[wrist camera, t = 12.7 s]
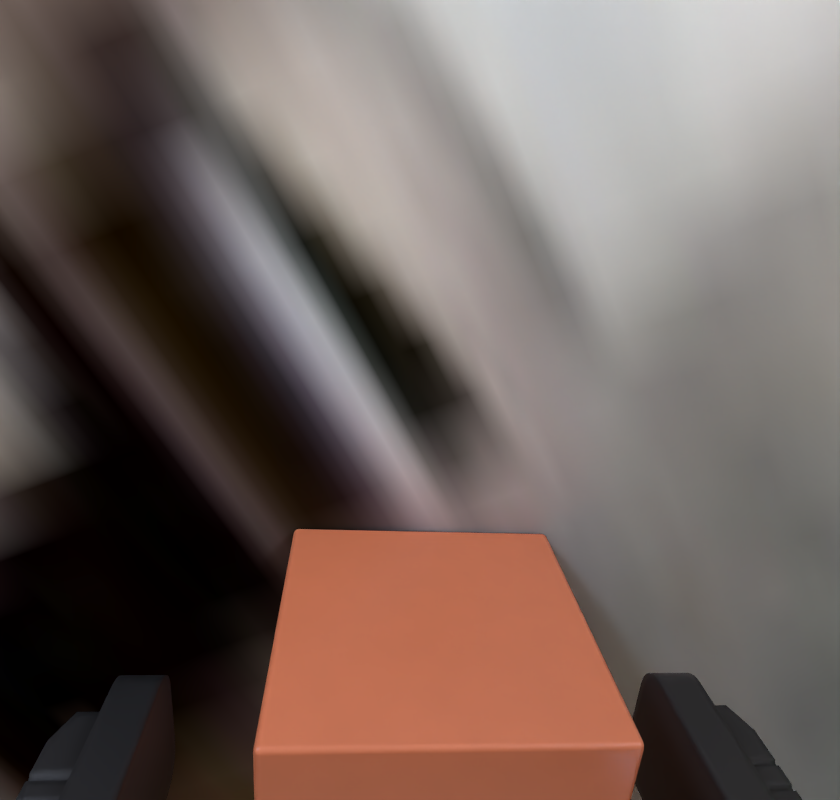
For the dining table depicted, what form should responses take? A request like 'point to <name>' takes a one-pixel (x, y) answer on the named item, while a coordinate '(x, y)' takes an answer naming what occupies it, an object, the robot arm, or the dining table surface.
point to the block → (437, 675)
